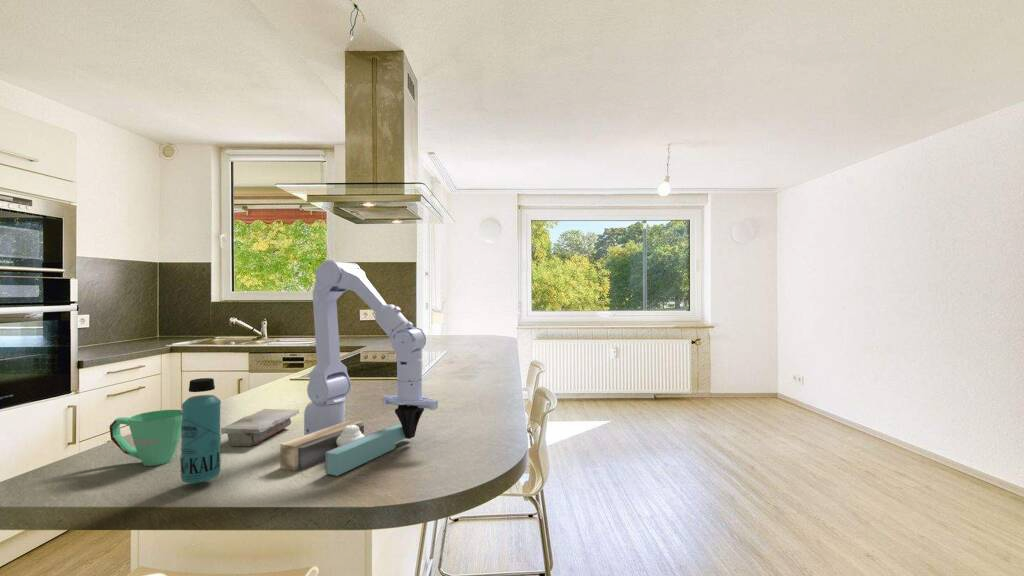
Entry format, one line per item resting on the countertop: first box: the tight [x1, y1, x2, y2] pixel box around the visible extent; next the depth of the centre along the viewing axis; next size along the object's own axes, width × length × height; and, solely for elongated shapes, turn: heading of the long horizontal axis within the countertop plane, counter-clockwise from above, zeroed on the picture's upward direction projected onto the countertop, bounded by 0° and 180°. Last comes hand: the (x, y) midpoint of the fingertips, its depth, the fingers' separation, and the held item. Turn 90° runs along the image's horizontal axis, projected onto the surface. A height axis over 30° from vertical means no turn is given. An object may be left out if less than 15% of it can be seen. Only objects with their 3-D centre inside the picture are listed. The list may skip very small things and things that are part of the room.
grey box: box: [220, 408, 300, 447], centre depth 121 cm, size 18×5×10 cm
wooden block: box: [279, 419, 365, 472], centre depth 107 cm, size 5×20×5 cm, turn 156°
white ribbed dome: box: [336, 424, 366, 447], centre depth 106 cm, size 6×6×7 cm
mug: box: [108, 409, 182, 467], centre depth 103 cm, size 15×10×10 cm
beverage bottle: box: [179, 377, 222, 484], centre depth 91 cm, size 6×7×20 cm
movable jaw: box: [324, 422, 406, 477], centre depth 106 cm, size 3×25×4 cm, turn 156°
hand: (409, 437), depth 113 cm, fingers closed
